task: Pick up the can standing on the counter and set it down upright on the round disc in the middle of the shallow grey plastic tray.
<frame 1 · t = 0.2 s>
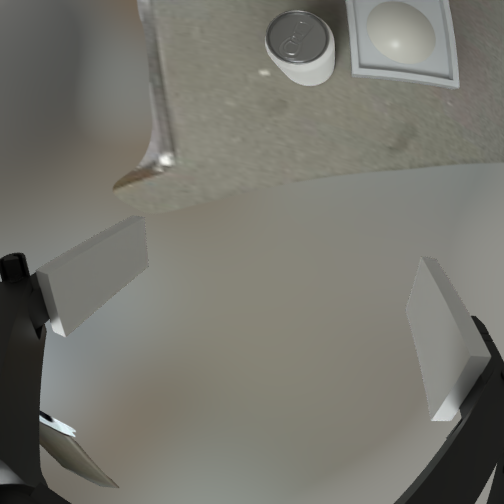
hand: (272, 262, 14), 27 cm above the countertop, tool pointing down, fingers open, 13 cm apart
flange tray: (400, 32, 28), on the countertop
can: (308, 62, 33), on the countertop
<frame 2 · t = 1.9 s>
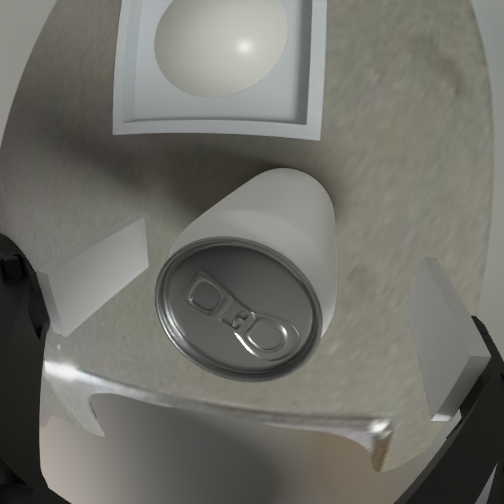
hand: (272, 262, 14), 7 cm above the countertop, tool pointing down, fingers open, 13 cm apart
flange tray: (220, 35, 17), on the countertop
can: (285, 214, 21), on the countertop
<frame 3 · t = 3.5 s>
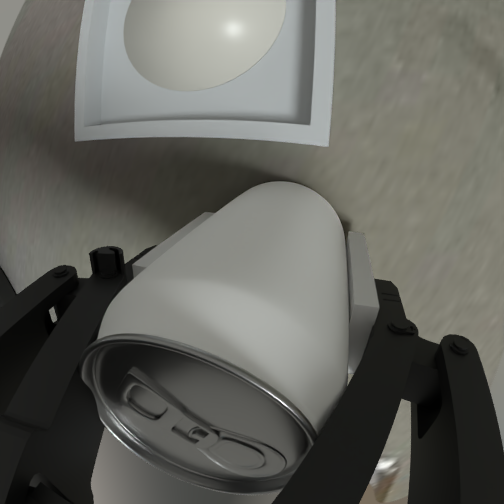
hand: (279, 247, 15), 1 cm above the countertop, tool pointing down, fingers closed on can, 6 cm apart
flange tray: (201, 15, 13), on the countertop
can: (283, 239, 16), on the countertop, touching gripper
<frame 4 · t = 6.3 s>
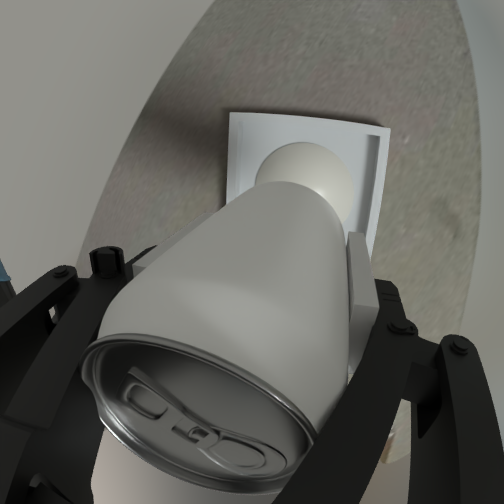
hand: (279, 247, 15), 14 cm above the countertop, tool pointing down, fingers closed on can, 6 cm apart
flange tray: (304, 191, 28), on the countertop
can: (283, 239, 16), point 13 cm above the countertop, touching gripper
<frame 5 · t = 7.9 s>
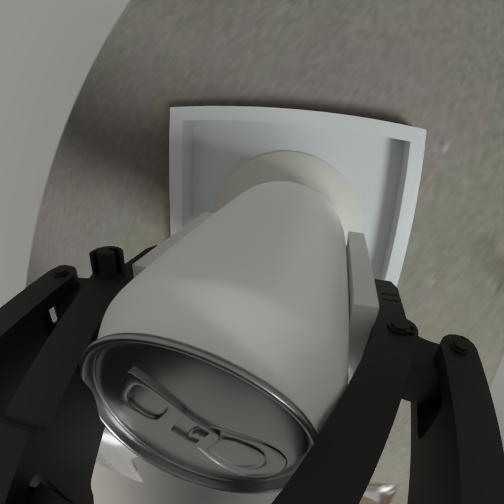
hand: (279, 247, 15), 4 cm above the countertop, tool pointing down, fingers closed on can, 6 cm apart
flange tray: (288, 225, 19), on the countertop
can: (283, 239, 16), point 3 cm above the countertop, touching gripper
when the fingers open (3 cm above the countertop, at t = 9.0 s): can stays where it is, resting on flange tray.
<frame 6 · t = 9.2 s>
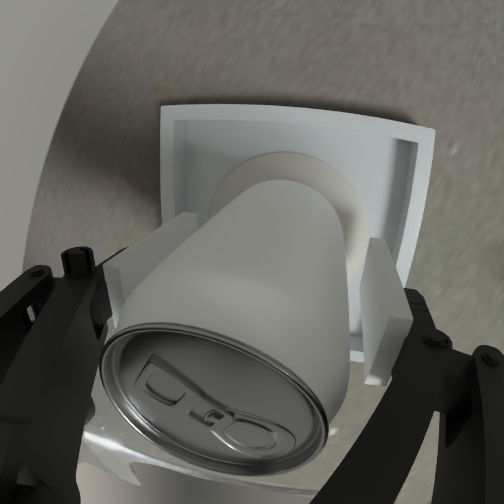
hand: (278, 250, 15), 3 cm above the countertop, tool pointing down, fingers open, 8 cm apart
flange tray: (287, 231, 18), on the countertop
can: (283, 235, 17), point 1 cm above the countertop, touching flange tray
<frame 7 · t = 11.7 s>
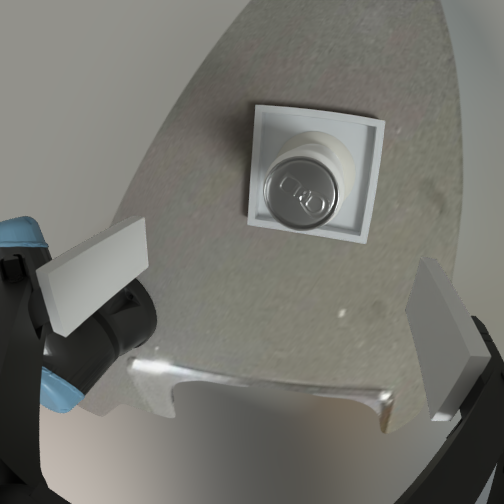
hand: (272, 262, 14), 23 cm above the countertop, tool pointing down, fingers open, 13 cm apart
flange tray: (315, 171, 34), on the countertop
can: (313, 172, 33), point 1 cm above the countertop, touching flange tray
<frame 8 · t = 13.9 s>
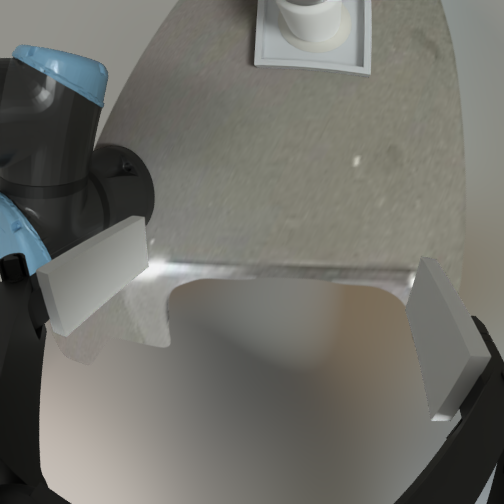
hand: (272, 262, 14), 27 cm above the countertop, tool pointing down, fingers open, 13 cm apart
flange tray: (315, 22, 30), on the countertop
can: (313, 21, 29), point 1 cm above the countertop, touching flange tray
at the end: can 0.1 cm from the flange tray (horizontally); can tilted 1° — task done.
